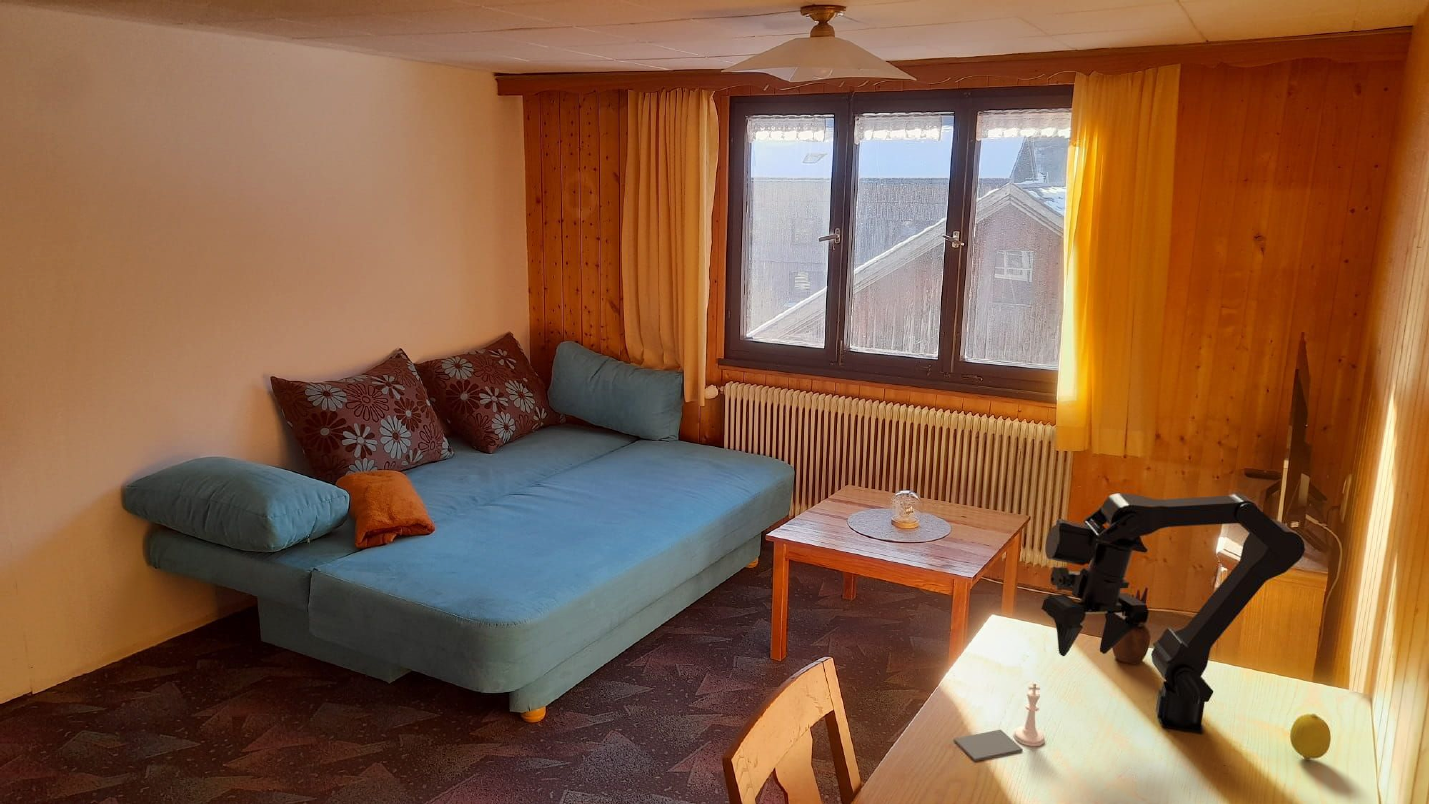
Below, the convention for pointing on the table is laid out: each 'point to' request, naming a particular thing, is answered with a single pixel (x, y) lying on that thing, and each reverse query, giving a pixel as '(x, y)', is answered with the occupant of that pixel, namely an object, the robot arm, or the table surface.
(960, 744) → the slate mat
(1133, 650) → the wooden figurine
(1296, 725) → the lemon
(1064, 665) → the table surface
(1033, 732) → the chess piece
